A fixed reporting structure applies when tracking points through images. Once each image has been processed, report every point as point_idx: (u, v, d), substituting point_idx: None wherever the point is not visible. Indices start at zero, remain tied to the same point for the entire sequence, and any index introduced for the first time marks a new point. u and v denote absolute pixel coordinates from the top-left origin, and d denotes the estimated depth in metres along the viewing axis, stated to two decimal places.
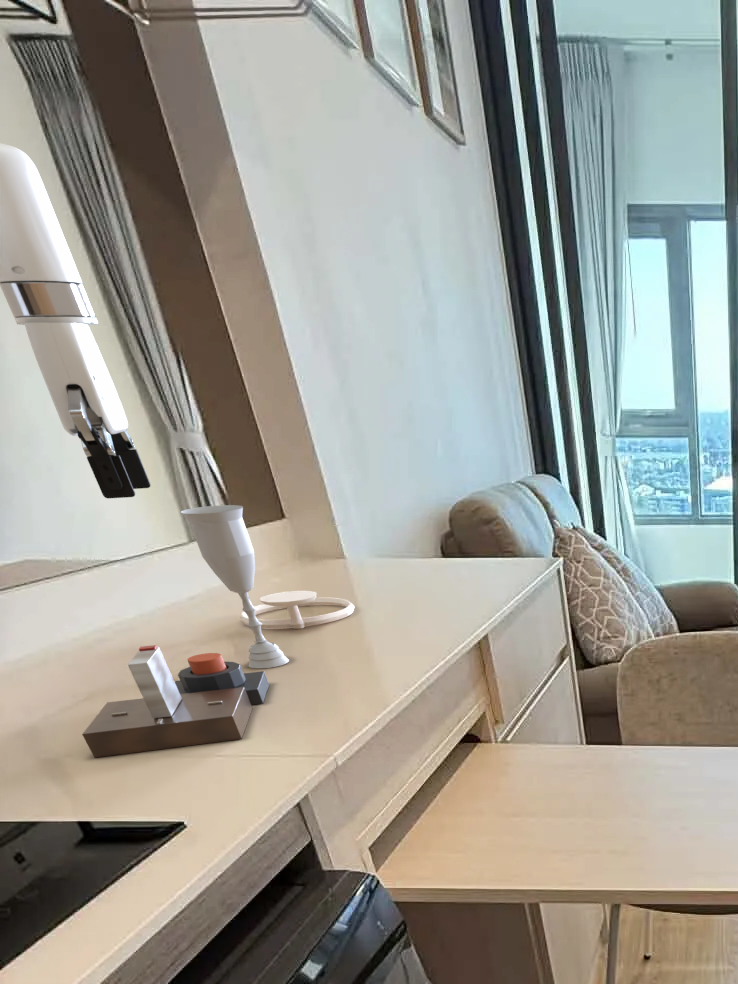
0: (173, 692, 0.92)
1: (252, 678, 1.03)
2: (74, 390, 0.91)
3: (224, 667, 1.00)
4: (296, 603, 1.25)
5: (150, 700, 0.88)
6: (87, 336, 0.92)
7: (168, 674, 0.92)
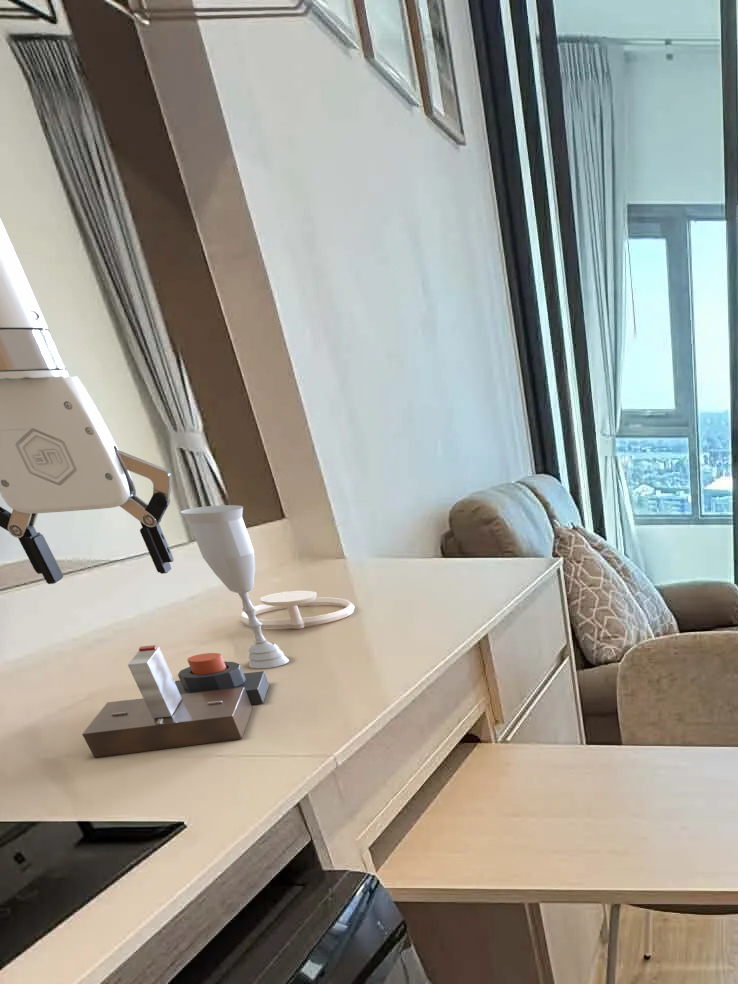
0: (173, 692, 0.92)
1: (252, 678, 1.03)
2: (121, 452, 0.79)
3: (224, 667, 1.00)
4: (296, 603, 1.25)
5: (150, 700, 0.88)
6: None
7: (168, 674, 0.92)
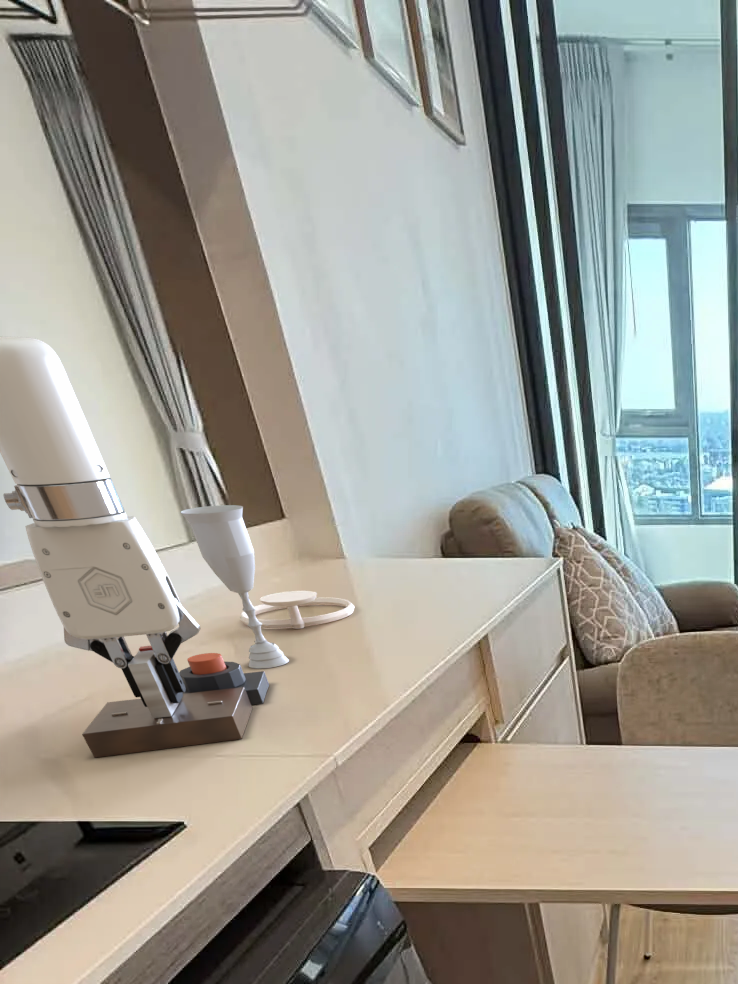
0: None
1: (252, 678, 1.03)
2: None
3: (224, 667, 1.00)
4: (296, 603, 1.25)
5: (150, 700, 0.88)
6: None
7: None
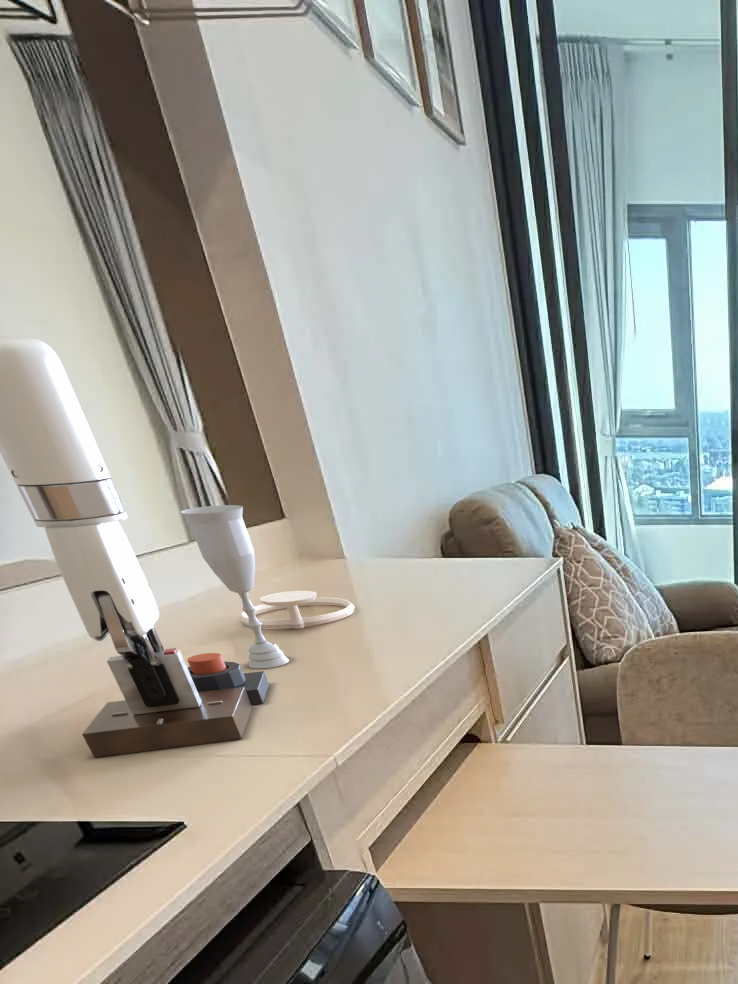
0: None
1: (252, 678, 1.03)
2: (108, 609, 0.82)
3: (224, 667, 1.00)
4: (296, 603, 1.25)
5: None
6: (115, 534, 0.81)
7: (176, 680, 0.90)
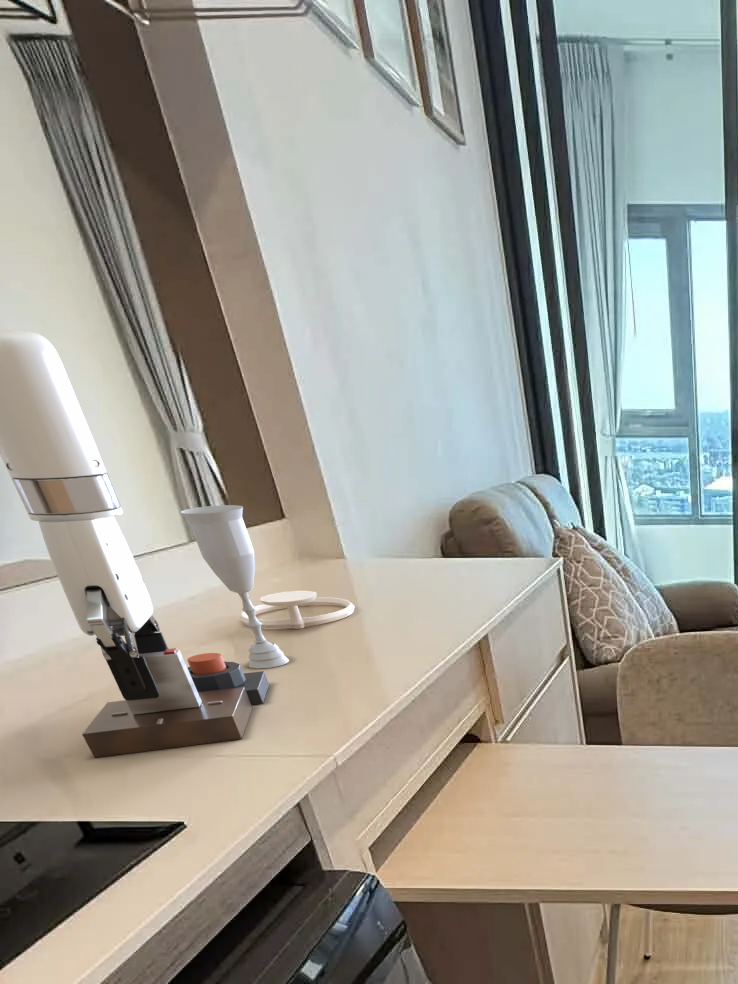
0: (172, 697, 0.91)
1: (252, 678, 1.03)
2: (94, 592, 0.80)
3: (224, 667, 1.00)
4: (296, 603, 1.25)
5: None
6: (110, 529, 0.81)
7: (176, 680, 0.90)
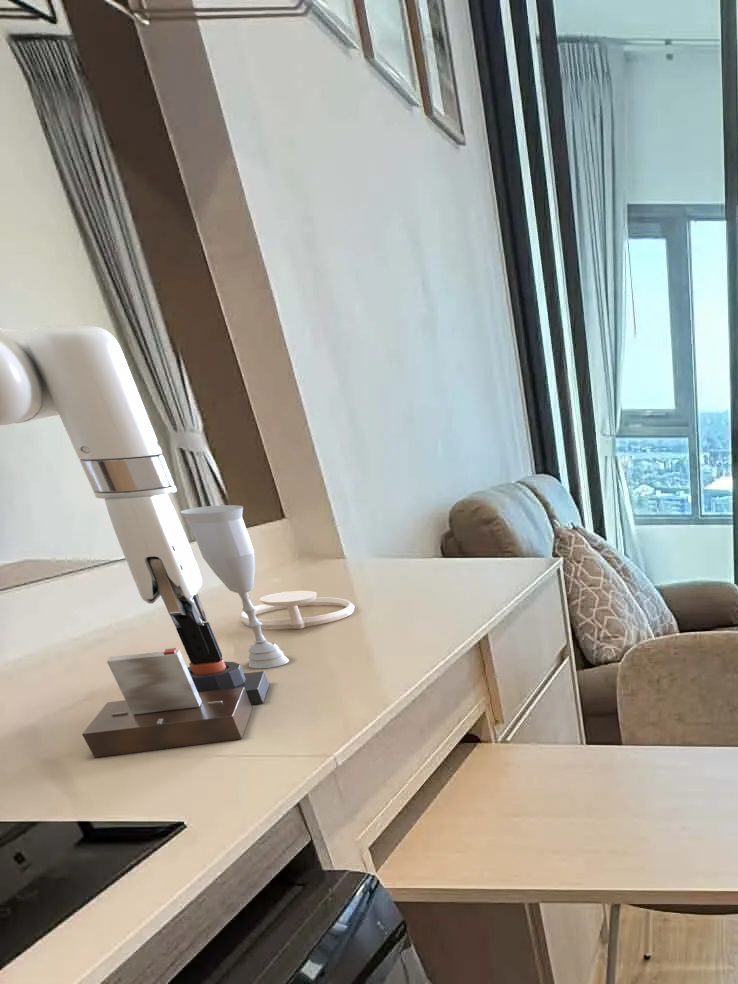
0: (172, 697, 0.91)
1: (252, 678, 1.03)
2: (161, 575, 0.90)
3: None
4: (296, 603, 1.25)
5: None
6: (166, 505, 0.90)
7: (176, 680, 0.90)
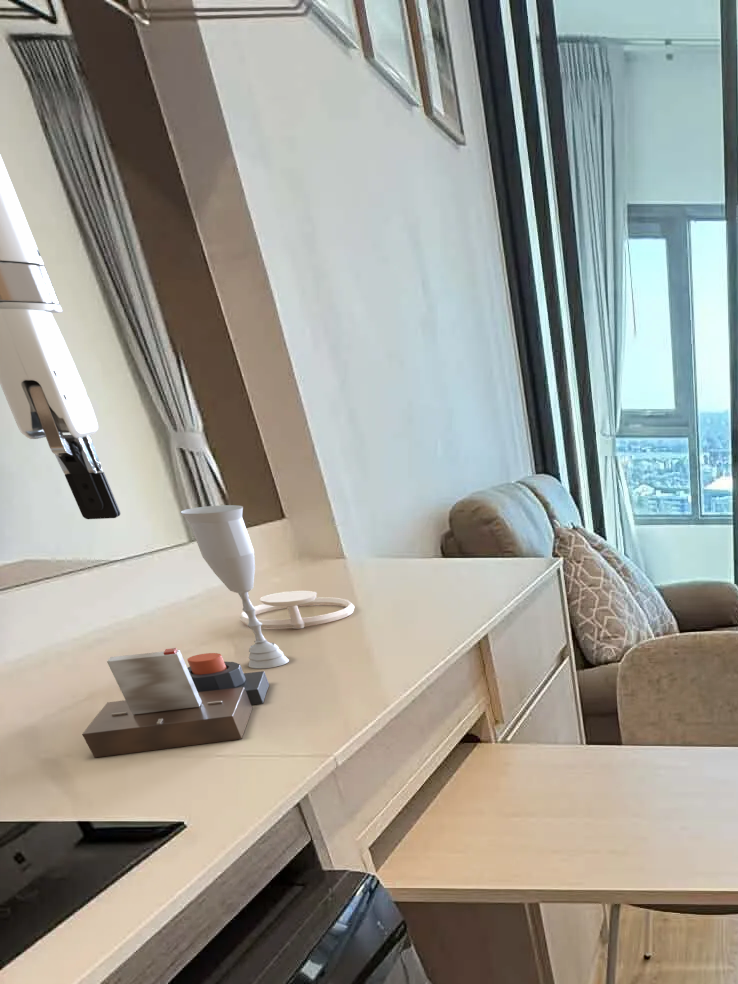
0: (172, 697, 0.91)
1: (252, 678, 1.03)
2: (41, 404, 0.81)
3: (224, 667, 1.00)
4: (296, 603, 1.25)
5: None
6: (48, 326, 0.80)
7: (176, 680, 0.90)
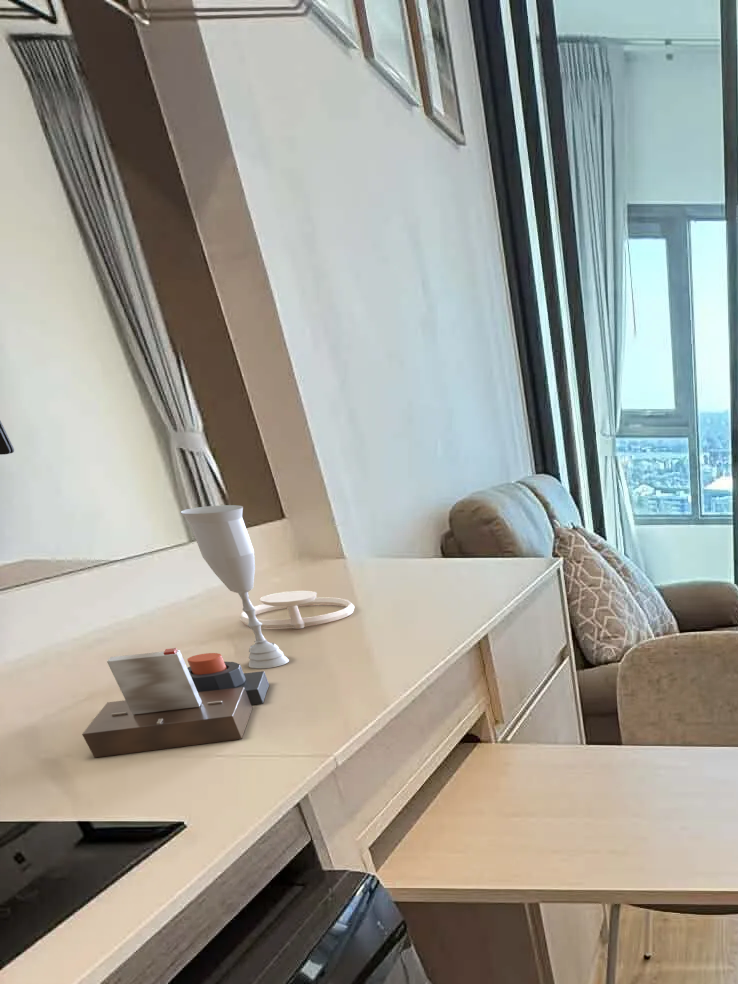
0: (172, 697, 0.91)
1: (252, 678, 1.03)
2: None
3: (224, 667, 1.00)
4: (296, 603, 1.25)
5: None
6: None
7: (176, 680, 0.90)
